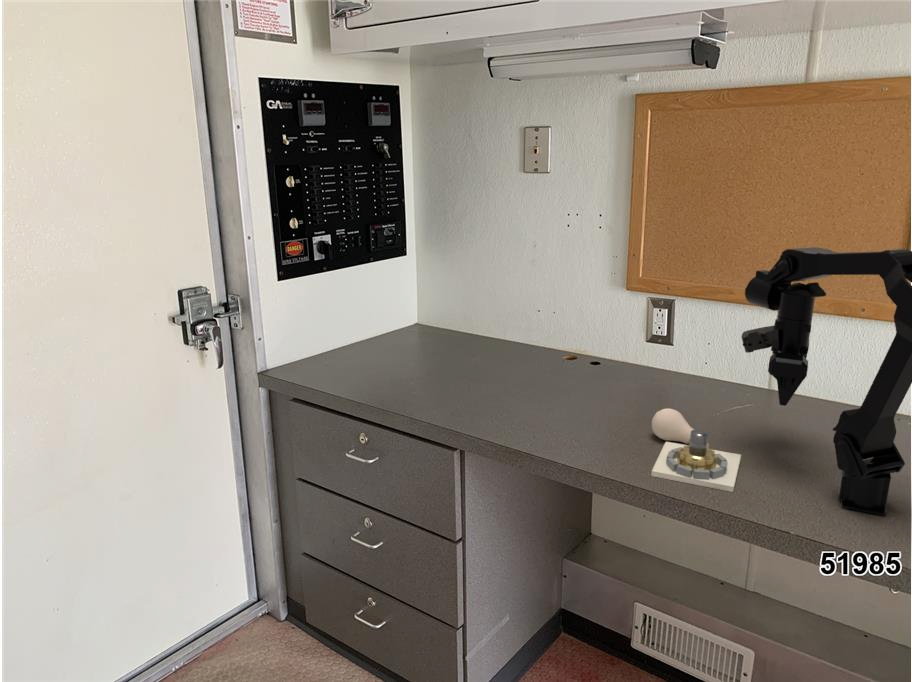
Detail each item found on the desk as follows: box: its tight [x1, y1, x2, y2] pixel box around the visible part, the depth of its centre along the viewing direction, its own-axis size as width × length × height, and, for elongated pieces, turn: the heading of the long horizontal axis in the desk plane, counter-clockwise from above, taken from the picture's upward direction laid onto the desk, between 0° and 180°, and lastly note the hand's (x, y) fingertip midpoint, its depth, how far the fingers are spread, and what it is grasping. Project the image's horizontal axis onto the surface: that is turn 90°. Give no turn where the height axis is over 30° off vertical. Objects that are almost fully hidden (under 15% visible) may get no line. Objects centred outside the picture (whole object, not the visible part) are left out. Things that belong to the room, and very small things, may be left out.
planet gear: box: [677, 429, 717, 471], centre depth 130 cm, size 7×7×7 cm
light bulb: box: [651, 408, 695, 445], centre depth 143 cm, size 7×7×11 cm
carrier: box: [650, 441, 742, 493], centre depth 132 cm, size 14×14×4 cm
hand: (783, 396), depth 134 cm, fingers open, 9 cm apart
